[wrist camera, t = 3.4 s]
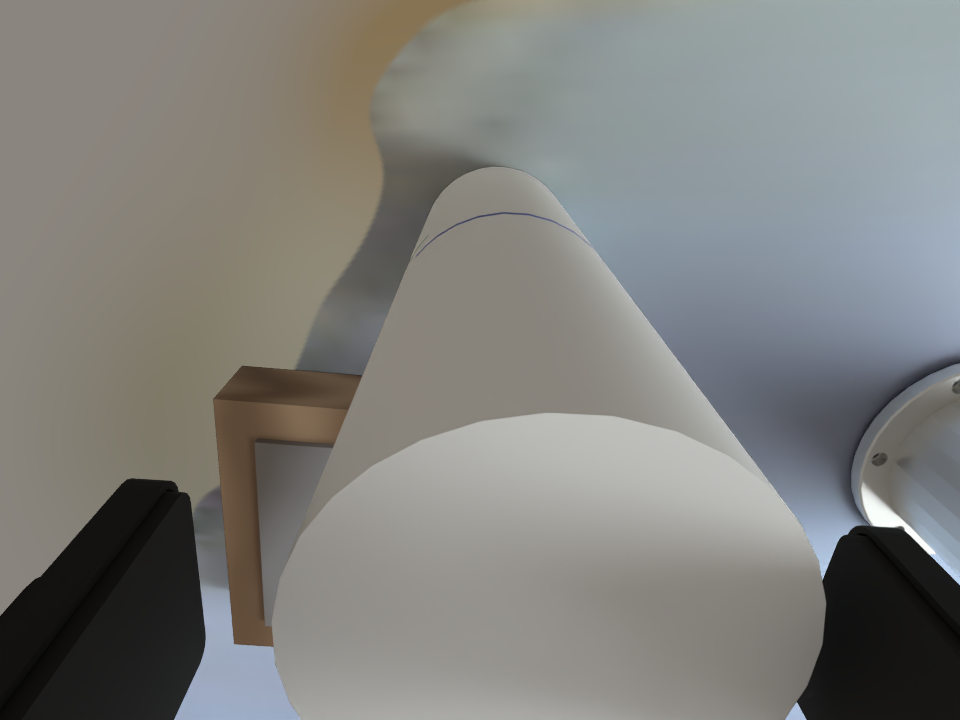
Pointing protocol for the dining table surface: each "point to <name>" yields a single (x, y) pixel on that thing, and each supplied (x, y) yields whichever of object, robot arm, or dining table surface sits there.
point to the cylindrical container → (538, 505)
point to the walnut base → (271, 477)
